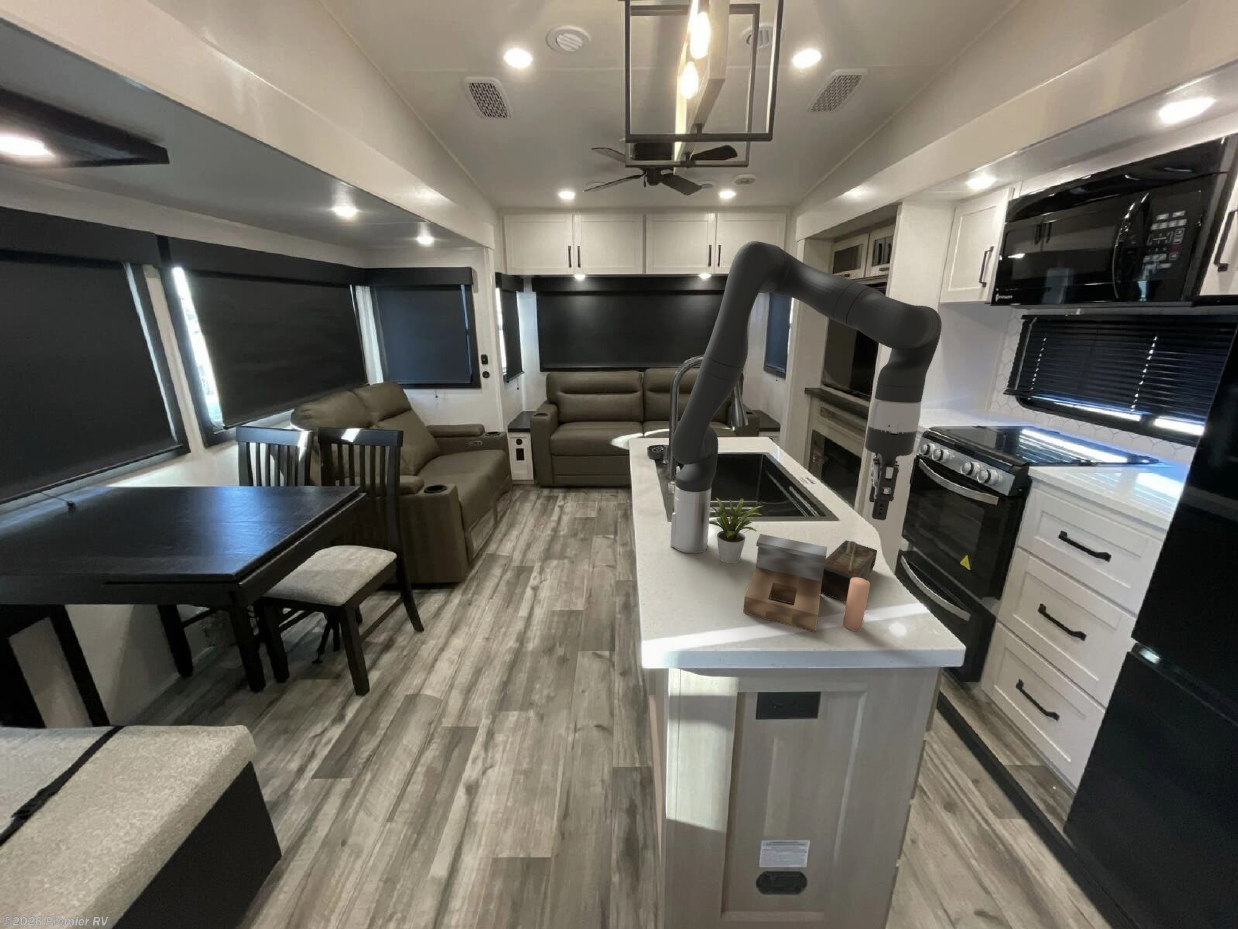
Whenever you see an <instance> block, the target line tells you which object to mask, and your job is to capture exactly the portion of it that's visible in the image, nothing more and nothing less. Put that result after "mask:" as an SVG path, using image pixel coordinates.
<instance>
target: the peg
mask: <svg viewBox="0 0 1238 929" xmlns="http://www.w3.org/2000/svg"><path fill="white" fill-rule="evenodd" d="M870 587H871V583H870V582H869V580H867V579H866V580H865V579H863V578H858V577H854V578H851V580H850V585H849V591H848V596H847V602H845V608H844V614H843V619H842V625H843V626H844V628H845V629H847V630H850V631H853V632H859V631H861V630H862V629H863V622H864V618H865V612H866V607H867V602H868V596H869V591H870Z"/></svg>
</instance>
